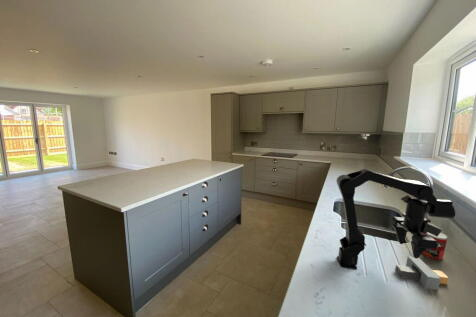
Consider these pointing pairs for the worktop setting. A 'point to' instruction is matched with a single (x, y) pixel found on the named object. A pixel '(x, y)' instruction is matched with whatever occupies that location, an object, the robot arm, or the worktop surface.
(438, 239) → the canned food
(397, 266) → the plug
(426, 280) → the housing
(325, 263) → the worktop surface
